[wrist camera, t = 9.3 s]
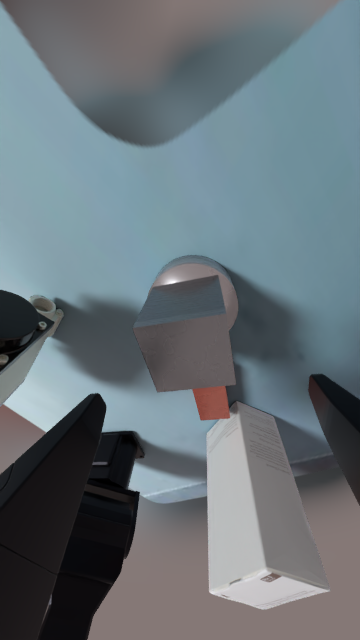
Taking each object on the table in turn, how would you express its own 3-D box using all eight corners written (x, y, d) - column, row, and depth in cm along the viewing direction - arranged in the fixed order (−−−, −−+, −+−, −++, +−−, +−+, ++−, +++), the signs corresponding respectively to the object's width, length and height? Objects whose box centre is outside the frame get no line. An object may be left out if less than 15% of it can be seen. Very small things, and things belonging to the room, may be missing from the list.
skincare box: (239, 444, 32) (265, 612, 19) (203, 431, 31) (205, 597, 18) (276, 413, 28) (339, 599, 15) (235, 396, 27) (266, 580, 14)
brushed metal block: (226, 331, 19) (236, 384, 14) (168, 339, 20) (157, 392, 15) (218, 274, 16) (226, 313, 11) (152, 286, 17) (132, 328, 12)
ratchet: (245, 399, 27) (255, 448, 22) (185, 404, 28) (182, 451, 23) (229, 246, 18) (240, 269, 13) (142, 264, 19) (121, 290, 14)
